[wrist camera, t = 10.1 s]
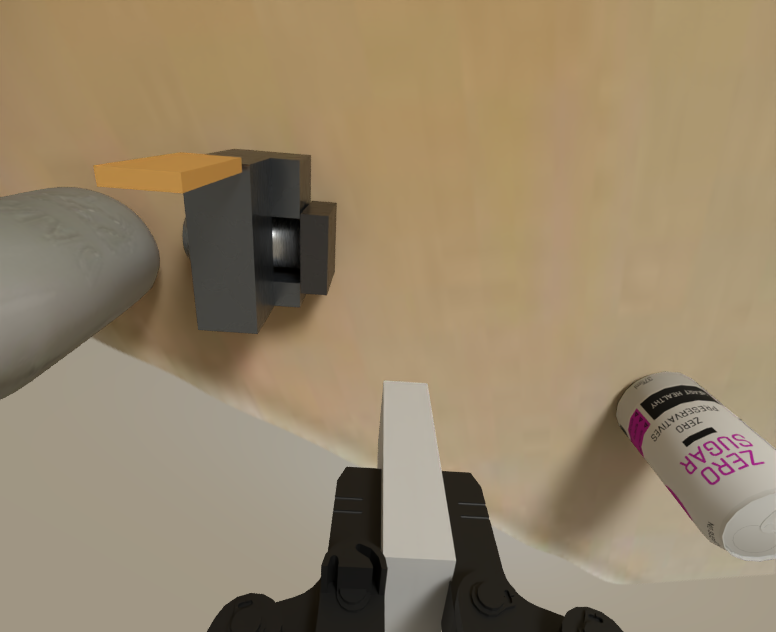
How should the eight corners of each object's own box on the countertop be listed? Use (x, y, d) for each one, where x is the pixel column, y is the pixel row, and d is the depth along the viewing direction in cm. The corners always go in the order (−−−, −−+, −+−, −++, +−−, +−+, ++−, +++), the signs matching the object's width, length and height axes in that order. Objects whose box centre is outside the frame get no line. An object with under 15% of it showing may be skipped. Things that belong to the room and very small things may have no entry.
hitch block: (234, 148, 34) (179, 158, 25) (310, 155, 34) (284, 167, 25) (242, 280, 39) (198, 329, 30) (309, 285, 39) (287, 335, 30)
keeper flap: (181, 167, 25) (180, 152, 24) (242, 172, 25) (241, 157, 25) (97, 186, 18) (93, 165, 17) (182, 193, 18) (180, 172, 17)
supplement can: (659, 444, 47) (773, 578, 33) (596, 417, 45) (688, 546, 31) (712, 386, 44) (862, 508, 30) (647, 355, 42) (774, 468, 28)
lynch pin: (200, 192, 35) (170, 203, 30) (336, 202, 36) (328, 216, 31) (207, 263, 38) (180, 284, 33) (334, 272, 38) (326, 295, 33)
